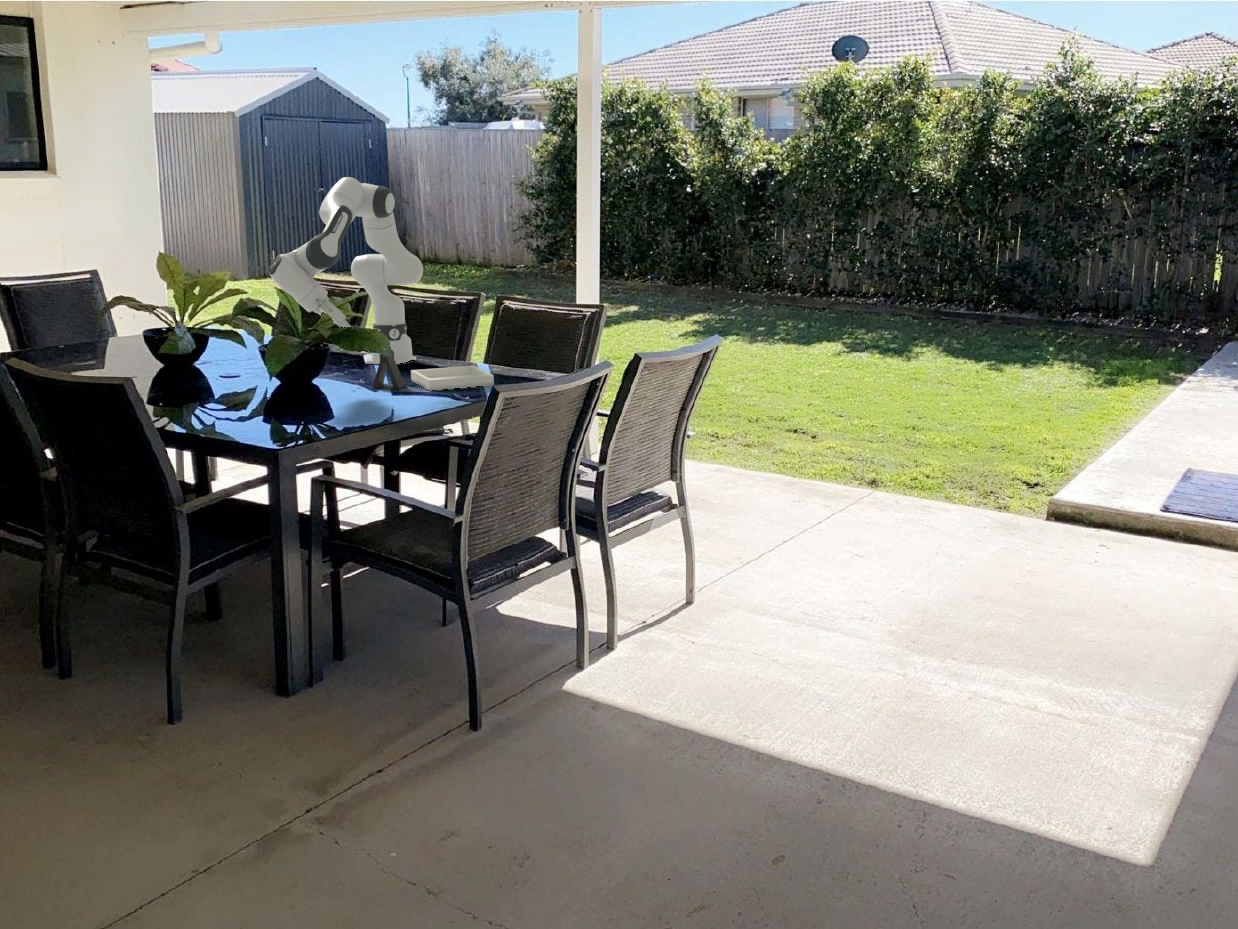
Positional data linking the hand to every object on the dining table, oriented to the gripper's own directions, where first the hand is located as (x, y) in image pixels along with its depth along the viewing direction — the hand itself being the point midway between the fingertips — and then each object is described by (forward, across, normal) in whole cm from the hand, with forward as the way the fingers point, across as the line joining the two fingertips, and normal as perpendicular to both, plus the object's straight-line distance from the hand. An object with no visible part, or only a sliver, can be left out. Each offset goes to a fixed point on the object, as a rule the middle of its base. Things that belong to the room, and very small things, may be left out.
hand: (347, 327), depth 367 cm
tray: (+38, -2, -10) cm, 39 cm away
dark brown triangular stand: (+23, 0, +5) cm, 24 cm away
